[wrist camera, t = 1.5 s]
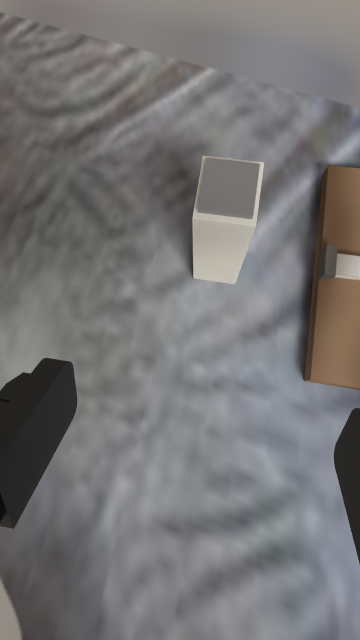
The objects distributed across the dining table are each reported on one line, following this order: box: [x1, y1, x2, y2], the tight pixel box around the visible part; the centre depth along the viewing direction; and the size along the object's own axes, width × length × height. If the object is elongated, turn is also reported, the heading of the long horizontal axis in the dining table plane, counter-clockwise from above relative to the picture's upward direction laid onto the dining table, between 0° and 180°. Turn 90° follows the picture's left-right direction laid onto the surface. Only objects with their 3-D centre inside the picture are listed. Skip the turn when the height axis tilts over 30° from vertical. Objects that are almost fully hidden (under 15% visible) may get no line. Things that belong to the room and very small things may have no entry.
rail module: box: [192, 156, 264, 284], centre depth 24 cm, size 4×4×10 cm
